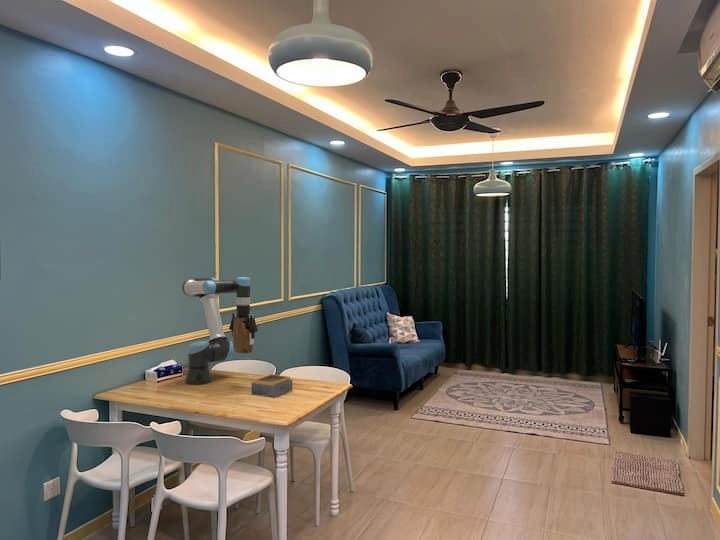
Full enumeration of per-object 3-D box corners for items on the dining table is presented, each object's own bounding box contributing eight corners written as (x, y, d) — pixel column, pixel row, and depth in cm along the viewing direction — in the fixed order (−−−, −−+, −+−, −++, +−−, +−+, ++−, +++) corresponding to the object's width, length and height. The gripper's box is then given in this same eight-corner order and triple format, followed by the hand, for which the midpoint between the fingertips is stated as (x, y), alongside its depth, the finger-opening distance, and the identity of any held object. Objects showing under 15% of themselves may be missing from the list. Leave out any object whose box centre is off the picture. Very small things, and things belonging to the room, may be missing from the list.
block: (231, 352, 301) (231, 316, 300) (242, 350, 306) (242, 315, 306) (244, 354, 294) (244, 318, 293) (255, 352, 300) (255, 317, 299)
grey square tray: (251, 393, 290) (251, 380, 290) (268, 387, 304) (268, 374, 304) (275, 397, 283) (275, 383, 282) (292, 390, 297) (292, 377, 297)
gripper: (222, 304, 301) (222, 342, 302) (256, 306, 291) (255, 346, 292) (231, 302, 308) (231, 340, 309) (264, 305, 297) (264, 344, 298)
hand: (243, 343), depth 300 cm, fingers closed on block, 11 cm apart
